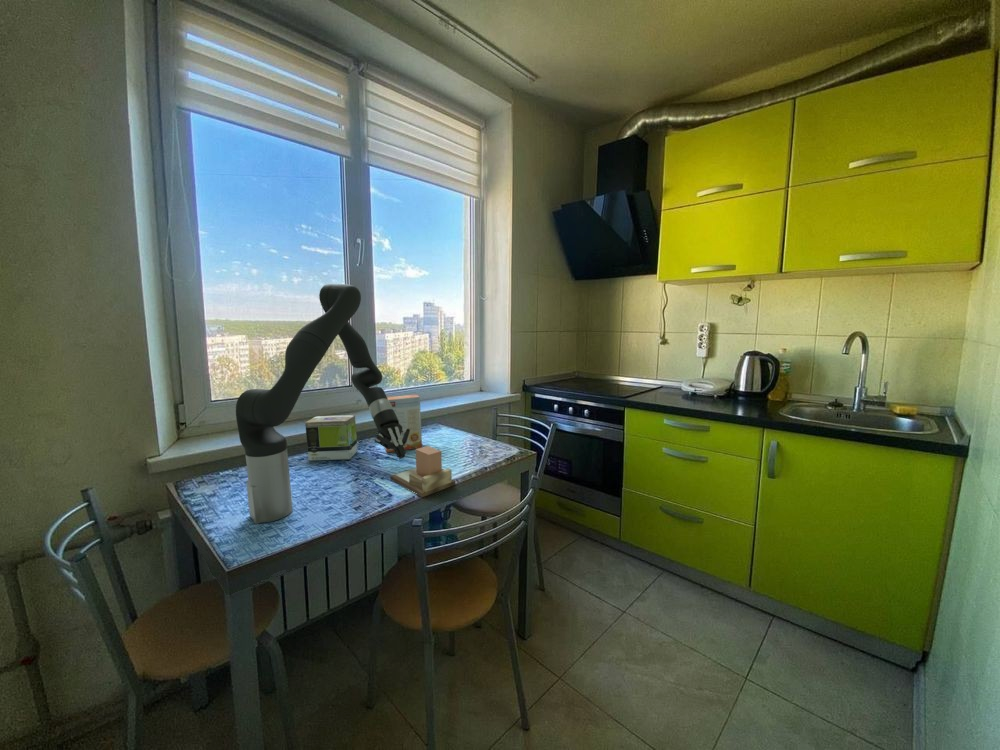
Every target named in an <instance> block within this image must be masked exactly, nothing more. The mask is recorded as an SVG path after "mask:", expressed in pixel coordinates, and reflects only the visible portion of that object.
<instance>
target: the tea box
mask: <svg viewBox="0 0 1000 750" xmlns="http://www.w3.org/2000/svg"><path fill="white" fill-rule="evenodd" d="M304 424H305V425H304V426H305V435H306V447H307V448H306V449H307V456H308V461H334V460H335V461H336V460H339V461H340V460H350V459H352V458H353V456H354V455H355V454H357V452H358V437H357V425H356V414H345V415H344V414H343V415H341V414H339V415H319V416H318V415H317V416H314V417H312V418H311V419H309V420H307V421H305V422H304Z"/></svg>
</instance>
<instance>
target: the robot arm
mask: <svg viewBox="0 0 1000 750" xmlns="http://www.w3.org/2000/svg"><path fill="white" fill-rule="evenodd" d="M318 295H319V296H318V297H319V302H320V306H321V307H322V310H323V311H324V314H322V315H321V316H319V317H316V319H315V318H314V319H313V320H312V321H310V322H308V323H307V324H305V325H304V326H302V327H301V328H300V329H299V330H298V331H297V332H296V334H295V335H294V336H293V337H292V339H291V340H290V342H289V343H288V344H287V347H286V348H285V355H284V370H283V373H282V374H281V376H280V377H279V379H278V380H277V382H276V383H275V384H274V385H273V386H272V387H271V388H270V389H262V388H251V389H247V390H245V391H243V392H242V393H241V394H240V395H239V397H238V398H237V400H236V404H235V405H236V406H235V417H236V424H237V430H238V435H239V441H240V444H241V445H242V447H243V449H244V453H245V462H246V473H247V481H246V493H247V502H248V503H247V504H248V511H249V516H250V518H251V520H252V522H254V524H255V525H257V524H261V523H268V522H269V523H270V522H274V521H277V520H280V519H283V518H285V517H287V516H288V515H290V514H292V511H293V499H292V498H293V497H292V489H291V488H292V487H291V476H290V465H289V464H290V463H289V452H288V442H287V439H286V437H285V436H284V435H282V434H281V433H279V432H278V431H277V430H276V429H275V428H274V427H277V426H278V427H279V426H280V425H282V424H283V423H284V422H285V421H287V419H288V418H289V416H290V415H291V413H292V411H293V410H294V408H295V406H296V404H297V402H298V399H299V397H300V395H301V394H302V392H303V390H304V388H305V386H306V384H307V382H308V381H309V379H310V378H311V376H312V374H313V373H314V371H315V369H316V368H317V366H318V365H319V364H320V362H321V361H322V359H323V358H324V356H325V355H326V353H327V352H328V350H329V348H330V347H331V345H332V344H333V342H334V341H335V339H336V337H339V338H340V340H341V343H342V344H343V347H344V349H345V351H346V355H347V356H348V360H349V362H350V365H351V366H352V367H353V368H354V369H360V370H356V371H355V372H353V373H352V374H351V377H350V378H351V379H350V381H351V383H352V385H353V386H354V387H355V389H356V390H358V392H359V393H360V394H361V395H362V396H363V398H364V400H365V401H366V404H367V407H368V409H369V412H370V415H371V418H372V419H373V422H374V424H375V427H376V429H377V430H378V431H377V432H378V434H377V435H376V437H375V438H374V442H376V443H377V444H378V445H380V446H382V447H383V448H384V449H385V448H387V449H393V450H394V453H395V455H396V457H397V458H398V459H399V460H402V459H403V458H405V457H406V455H407V452H406V450H405V449H404V447H403V446H404V445H405V443H406V442H407V439H408V435H409V432H410V429H407V430H406V429H403V428H402V426H401V425H400V424H399V421H398V418H397V416H396V414H395V412H394V410H393V408H392V405H391V404H390V402H389V401H388V399H387V397H388V396H387V395H386V393H385V390H384V389H383V387H379V386H377V385H379V384H381V382H382V381H383V374H382V371H381V370H380V368H379V367H378V366H377V365H376V364H375V362H374V361H373V359H372V357H371V354H370V351H369V349H368V345H367V343H366V341H365V339H364V337H363V336H362V335H361V334H360V333H359V332H358V331H357V329H355V327H353V325H351V322H349V321H350V320H351V318H352V317H353V316H354V315H355V314H356V313H357V311H358V310H359V308H360V305H361V301H362V294H361V291H360V290H359V288H358V287H356V285H352V284H347V283H346V284H345V283H328V284H327V283H326V284H324V285H323V286H322V287H321V288H320V290H319V294H318ZM401 432H402V435H403V439H402V440H401Z"/></svg>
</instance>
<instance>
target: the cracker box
mask: <svg viewBox="0 0 1000 750" xmlns="http://www.w3.org/2000/svg"><path fill="white" fill-rule="evenodd" d="M387 399H388V401H389V402H390V404H391V405H392V408H393V410H394V412H395V414H396V416H397V418H398V421H399V424H400V425H401V426H402V428H403V429H406V430H407V429H410V432H409V435H408V439H407V442H406V443H405V445H404V446H403V447H404V449H405V451H407V450H413V449H414V450H415V449H419V448H422V447H423V441H422V440H423V439H422V416H421V415H422V414H421V398H420V396H419V395H418V394H409V395H408V394H407V395H398V396H395V395H394V396H387ZM402 439H403V435H402V432H401V440H402ZM384 449H385V452H386V453H392V452H394V453H395V451H394V450H393V449H387V448H385V447H384Z"/></svg>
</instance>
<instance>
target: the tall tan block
mask: <svg viewBox="0 0 1000 750" xmlns="http://www.w3.org/2000/svg"><path fill="white" fill-rule="evenodd" d="M442 461H443V460H442V450H439V449H437V448H434V447H431V446H428V445H427V446H422V447H421V448H415V466H416V467H415V468H416V474H418V475H420V476H422V477H424V476H427V475H430V474H433V473H436V472H439V471H442V469H443V467H442Z"/></svg>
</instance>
